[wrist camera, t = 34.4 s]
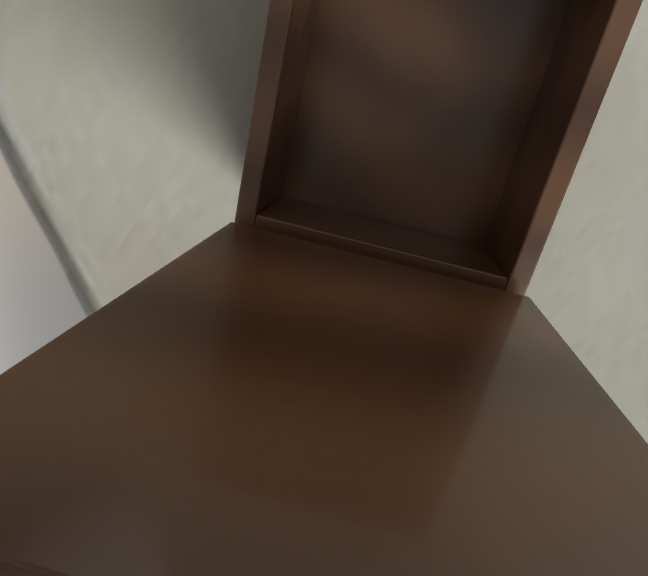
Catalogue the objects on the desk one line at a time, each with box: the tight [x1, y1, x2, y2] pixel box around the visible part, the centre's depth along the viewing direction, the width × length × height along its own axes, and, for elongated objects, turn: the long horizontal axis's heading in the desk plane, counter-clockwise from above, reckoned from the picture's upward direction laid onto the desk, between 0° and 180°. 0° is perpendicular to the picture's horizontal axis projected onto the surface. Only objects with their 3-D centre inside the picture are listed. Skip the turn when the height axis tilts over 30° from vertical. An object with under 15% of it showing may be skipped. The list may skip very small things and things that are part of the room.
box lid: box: [0, 222, 648, 576], centre depth 12 cm, size 14×12×5 cm
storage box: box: [235, 0, 643, 296], centre depth 19 cm, size 14×12×6 cm
